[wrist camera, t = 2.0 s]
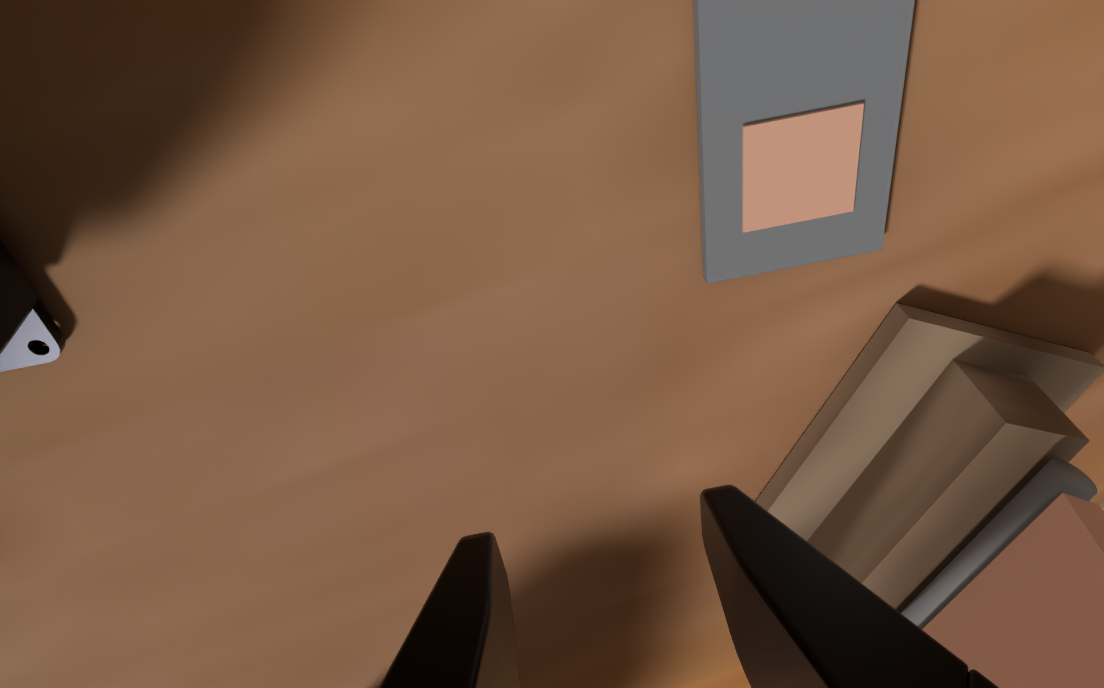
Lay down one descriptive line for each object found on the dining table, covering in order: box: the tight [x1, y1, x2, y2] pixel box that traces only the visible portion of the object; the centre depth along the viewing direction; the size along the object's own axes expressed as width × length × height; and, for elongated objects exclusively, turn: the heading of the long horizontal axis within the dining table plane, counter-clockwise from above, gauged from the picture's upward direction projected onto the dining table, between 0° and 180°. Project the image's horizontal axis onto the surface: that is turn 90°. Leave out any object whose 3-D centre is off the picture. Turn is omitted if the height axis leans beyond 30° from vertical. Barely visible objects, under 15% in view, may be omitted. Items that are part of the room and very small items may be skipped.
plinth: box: [755, 303, 1104, 613], centre depth 27 cm, size 8×12×4 cm, turn 161°
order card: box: [693, 0, 915, 284], centre depth 18 cm, size 5×12×1 cm, turn 9°
